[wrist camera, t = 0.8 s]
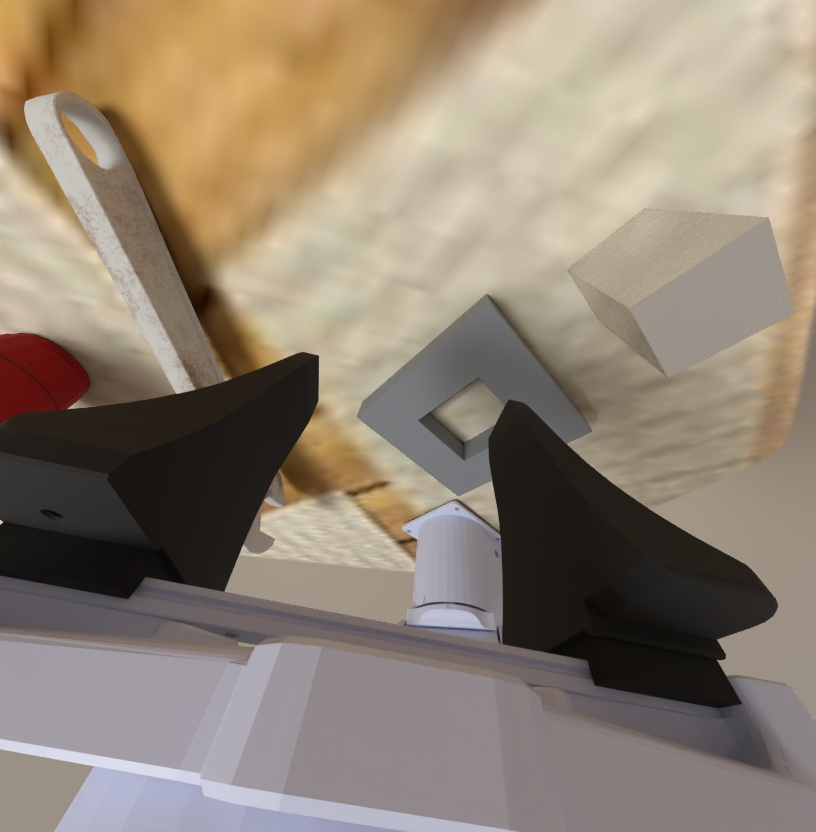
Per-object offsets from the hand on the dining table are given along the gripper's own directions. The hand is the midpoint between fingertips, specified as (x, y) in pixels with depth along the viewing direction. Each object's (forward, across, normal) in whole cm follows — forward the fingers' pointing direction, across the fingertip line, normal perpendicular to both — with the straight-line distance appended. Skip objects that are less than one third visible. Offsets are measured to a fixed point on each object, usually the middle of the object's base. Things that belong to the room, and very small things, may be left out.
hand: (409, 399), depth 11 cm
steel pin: (+10, -10, -5) cm, 15 cm away
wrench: (+10, +14, +8) cm, 19 cm away
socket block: (+10, -5, +6) cm, 13 cm away
